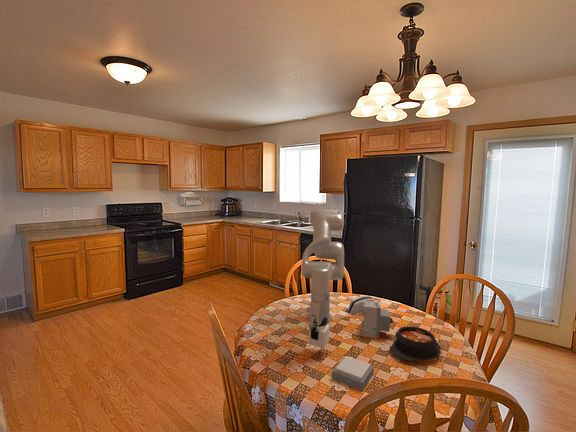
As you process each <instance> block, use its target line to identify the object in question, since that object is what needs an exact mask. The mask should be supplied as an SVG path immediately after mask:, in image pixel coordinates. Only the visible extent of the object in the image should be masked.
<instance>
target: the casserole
mask: <svg viewBox="0 0 576 432" xmlns="http://www.w3.org/2000/svg"><path fill="white" fill-rule="evenodd" d="M388 349H389V351H390V352H391V354H393V355H395V356H396V357H398V358H400V359H402V360H404V361H408V362H416V361H417V362H418V361H431V360H434V359H436V358H438V357H439V354H440V350H441V349H442V346H441V345H440V344H439V343H438V341H437V339H436V337H435V335H434V334H433V333H432V332H430V331H429V330H427V329H426V328H422V327H418V326H410V325H409V326H402V327H399V328H398V330H397V331H396V332H395V340H393V342H392V345H391V346H389V348H388Z"/></svg>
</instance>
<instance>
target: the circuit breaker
mask: <svg viewBox="0 0 576 432" xmlns="http://www.w3.org/2000/svg"><path fill="white" fill-rule="evenodd" d="M361 313H362V315H363V320H361V324H360V325H361V330H360V331H361V336H362V337H365V338H372V339H373V338H375V339H380V337H381V336H380V333H381V332H389V333H390V329H391V328H390V326H391V324H394V320H393V318H392V317H391V315H390V311H389V310H388V309H382V308H381V304H380V302H379V301H374V302H372V301H363V304H362V312H361Z"/></svg>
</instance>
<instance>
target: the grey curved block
mask: <svg viewBox="0 0 576 432" xmlns="http://www.w3.org/2000/svg"><path fill="white" fill-rule="evenodd" d="M363 301H372V302H375V299H374V298H373V297H372V296H370V295H362V296H359V297H356V298H353V299H352V300H351V301H350V303H349V306H348V308H346V309H345V312H349V315H354V314H358V313H362V304H363Z"/></svg>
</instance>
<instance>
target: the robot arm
mask: <svg viewBox="0 0 576 432" xmlns="http://www.w3.org/2000/svg"><path fill="white" fill-rule="evenodd" d="M344 216H345V215H344V212H343V210H341V209H330V208H329V209H328V208H316V209H313V210H311V211H310V214H309V218H310V223H311V226H312V228H313V238H312V242H311V243H309V245H307V247H306V248H305V250H304V251H303V253H302V260H301V274H302V276H303V278H305V279H311V285H310V286H311V290H310V291H311V292H310V296H311V297H310V299H311V300H310V303H309V304H310V305H309V306H306V310H305V312H306V313H308V322H309V323H308V326H309V328H310V330H311V339H314V340H318V331H317V330H318V326H319V325H320V324H321V322H322V320H323V319H324V318H325V317H327V323H329V322H331V321H332V320H333V316H332V314H330V310H331V309H330V304H331V301H330V300H331V287H330V281H341V280H343V278H344V276H345V247H344V244H343V243H342V242H339V241H332V232H336V231H337V232H341V231H343V229H344V225H345V218H344ZM312 254H314V255H315V258H317V259H321V260H320V261H315V260H314V261H312V260H311V261H310V260H309V259H310V257H311V256H312ZM323 259H324V260H334V261H323ZM315 321H316V323H314V322H315ZM314 324H315V325H316V328H315V327H314Z"/></svg>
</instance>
